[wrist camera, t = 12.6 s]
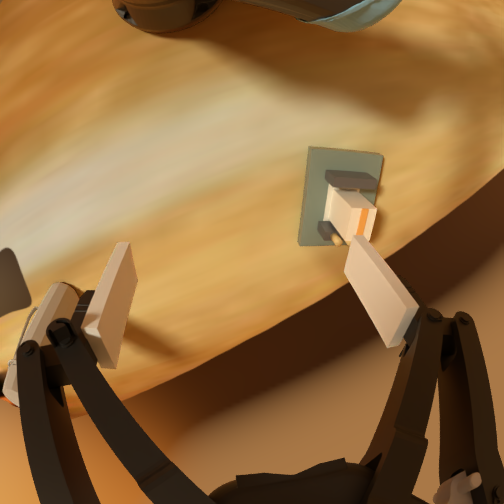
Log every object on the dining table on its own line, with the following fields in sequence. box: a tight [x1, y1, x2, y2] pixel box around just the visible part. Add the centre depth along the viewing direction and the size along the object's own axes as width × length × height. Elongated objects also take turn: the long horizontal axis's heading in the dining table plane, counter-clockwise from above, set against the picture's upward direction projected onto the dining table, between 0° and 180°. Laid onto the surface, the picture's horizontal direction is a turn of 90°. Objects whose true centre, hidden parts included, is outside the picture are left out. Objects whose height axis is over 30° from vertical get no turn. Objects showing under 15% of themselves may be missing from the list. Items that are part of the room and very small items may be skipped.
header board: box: [297, 146, 383, 247], centre depth 42 cm, size 16×12×7 cm
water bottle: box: [3, 282, 79, 407], centre depth 38 cm, size 9×8×25 cm
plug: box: [328, 189, 377, 241], centre depth 41 cm, size 5×4×7 cm
